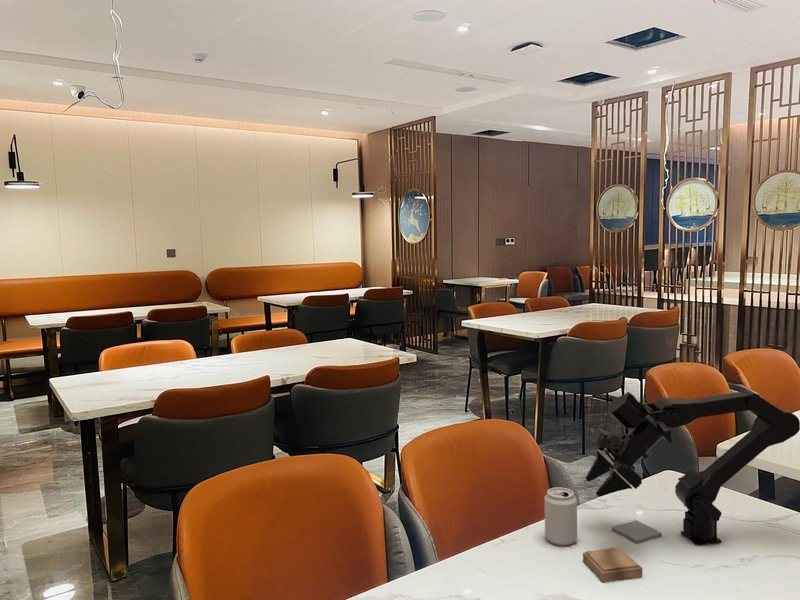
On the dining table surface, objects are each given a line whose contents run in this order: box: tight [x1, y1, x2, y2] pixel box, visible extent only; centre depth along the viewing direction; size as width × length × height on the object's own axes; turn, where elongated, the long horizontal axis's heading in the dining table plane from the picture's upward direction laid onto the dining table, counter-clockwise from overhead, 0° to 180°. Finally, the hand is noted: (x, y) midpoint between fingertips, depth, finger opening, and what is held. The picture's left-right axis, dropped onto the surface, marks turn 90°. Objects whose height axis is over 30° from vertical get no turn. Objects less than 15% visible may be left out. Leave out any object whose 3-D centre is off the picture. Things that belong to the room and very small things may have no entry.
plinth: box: [582, 546, 643, 583], centre depth 134 cm, size 9×9×2 cm
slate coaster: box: [611, 519, 663, 544], centre depth 150 cm, size 8×8×1 cm
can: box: [544, 486, 578, 547], centre depth 147 cm, size 8×8×12 cm
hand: (591, 487), depth 146 cm, fingers open, 9 cm apart
